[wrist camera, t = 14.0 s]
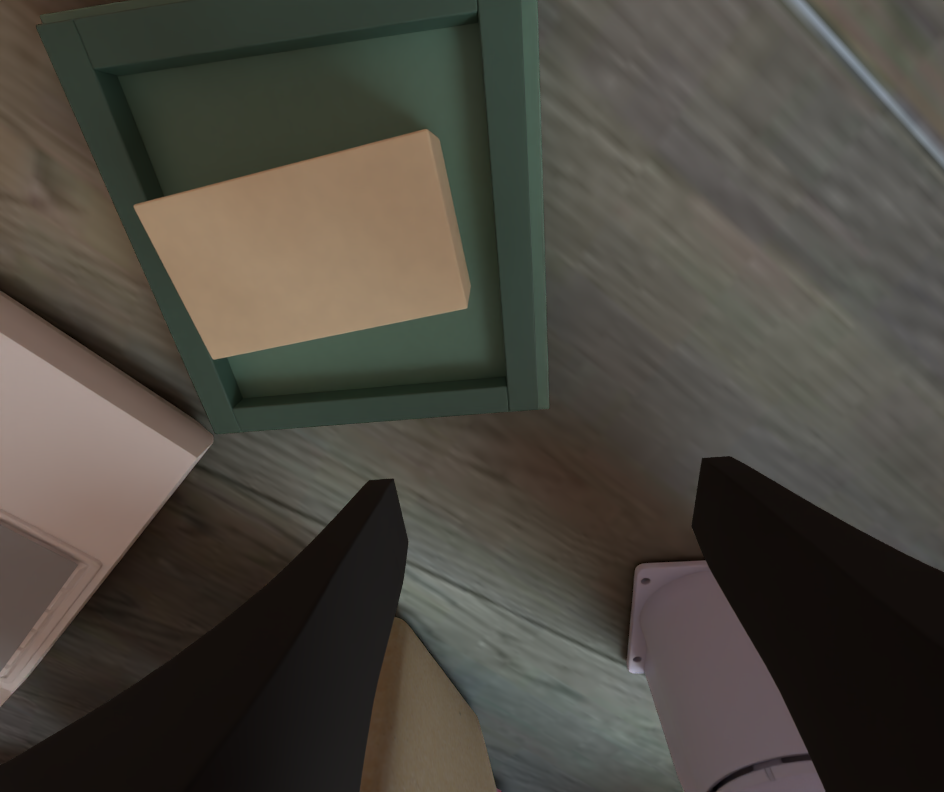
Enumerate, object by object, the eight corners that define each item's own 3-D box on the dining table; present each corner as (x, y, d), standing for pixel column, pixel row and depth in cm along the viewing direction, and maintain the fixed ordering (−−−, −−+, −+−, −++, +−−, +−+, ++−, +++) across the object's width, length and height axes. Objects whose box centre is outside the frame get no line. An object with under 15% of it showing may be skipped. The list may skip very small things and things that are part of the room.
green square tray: (546, 398, 19) (552, 420, 18) (231, 423, 21) (207, 446, 19) (532, -50, 13) (539, -88, 11) (66, 24, 14) (4, 2, 12)
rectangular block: (439, 137, 14) (427, 127, 11) (471, 287, 16) (467, 308, 14) (193, 200, 15) (130, 204, 13) (254, 332, 17) (212, 360, 15)
